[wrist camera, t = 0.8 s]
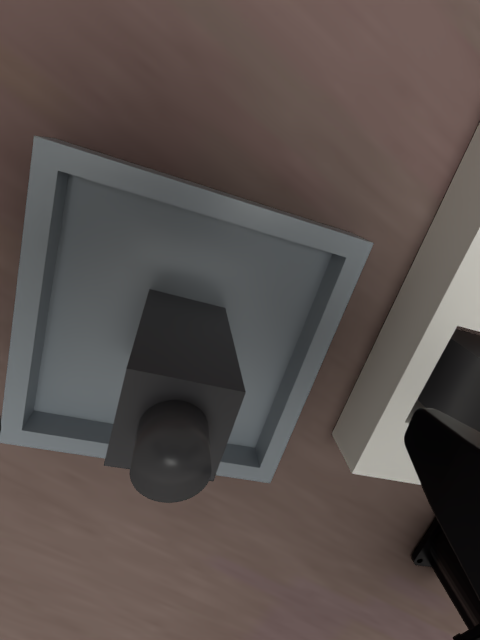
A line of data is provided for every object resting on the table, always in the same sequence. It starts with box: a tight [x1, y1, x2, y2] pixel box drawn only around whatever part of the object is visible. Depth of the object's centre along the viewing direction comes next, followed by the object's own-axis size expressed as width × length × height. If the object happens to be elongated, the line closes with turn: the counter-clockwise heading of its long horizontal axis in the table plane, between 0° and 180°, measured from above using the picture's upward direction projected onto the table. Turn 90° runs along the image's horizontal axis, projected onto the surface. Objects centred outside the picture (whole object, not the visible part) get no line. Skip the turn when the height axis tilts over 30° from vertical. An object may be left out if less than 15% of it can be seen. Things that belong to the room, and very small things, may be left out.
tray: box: [0, 136, 374, 483], centre depth 20 cm, size 15×15×2 cm
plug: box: [104, 289, 246, 503], centre depth 16 cm, size 4×4×10 cm
